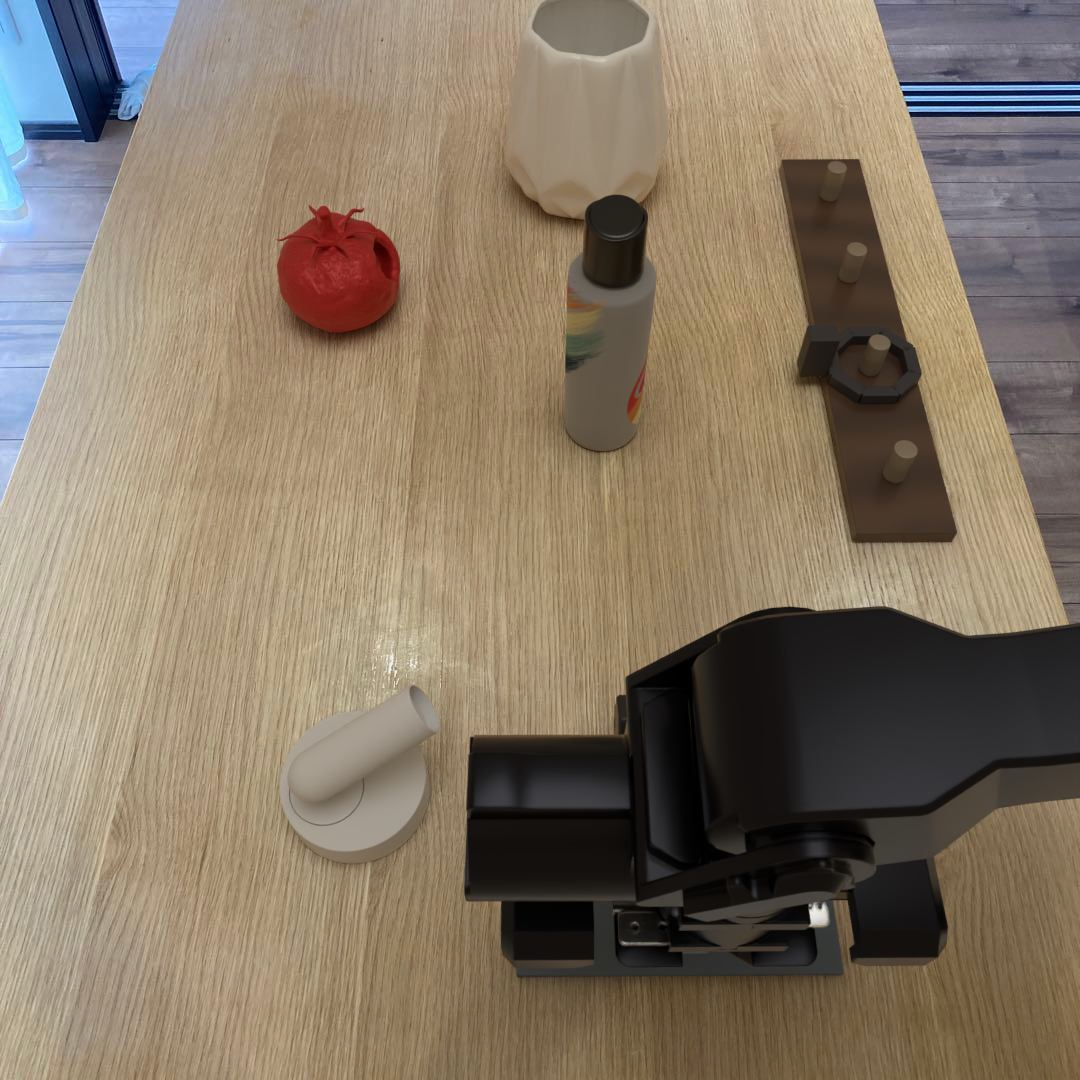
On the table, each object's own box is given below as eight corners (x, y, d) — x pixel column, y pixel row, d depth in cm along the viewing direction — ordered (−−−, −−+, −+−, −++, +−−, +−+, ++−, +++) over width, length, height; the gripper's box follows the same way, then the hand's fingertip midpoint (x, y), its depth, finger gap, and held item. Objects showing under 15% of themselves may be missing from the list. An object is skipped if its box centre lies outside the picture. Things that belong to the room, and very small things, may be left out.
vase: (563, 257, 88) (566, 97, 75) (477, 167, 94) (466, 5, 81) (694, 196, 92) (718, 35, 79) (603, 114, 98) (611, -48, 85)
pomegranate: (318, 367, 81) (294, 278, 73) (265, 290, 86) (237, 199, 78) (428, 317, 84) (416, 227, 76) (371, 246, 89) (354, 154, 81)
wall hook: (461, 763, 54) (275, 839, 52) (472, 819, 62) (311, 887, 60) (406, 629, 58) (232, 694, 56) (423, 697, 66) (271, 757, 64)
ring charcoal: (906, 335, 81) (921, 297, 78) (924, 403, 78) (941, 367, 74) (791, 335, 81) (802, 298, 78) (804, 404, 78) (816, 368, 74)
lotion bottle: (644, 401, 79) (672, 186, 62) (631, 459, 76) (656, 250, 59) (572, 388, 80) (580, 173, 63) (556, 445, 77) (559, 235, 60)
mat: (817, 815, 62) (819, 812, 62) (841, 975, 57) (844, 973, 57) (518, 816, 62) (517, 813, 62) (516, 977, 57) (516, 975, 57)
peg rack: (952, 541, 72) (973, 508, 69) (852, 542, 72) (868, 509, 69) (856, 169, 94) (868, 129, 90) (779, 170, 94) (788, 129, 90)
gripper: (943, 645, 43) (851, 773, 56) (498, 649, 43) (510, 776, 56) (1010, 923, 37) (889, 993, 50) (493, 926, 37) (507, 996, 51)
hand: (693, 929), depth 52 cm, fingers closed
